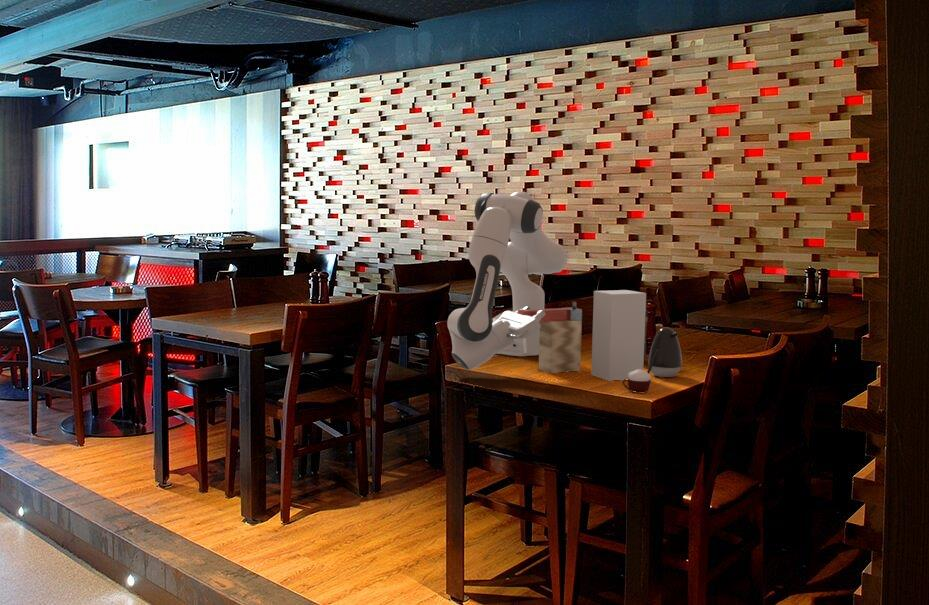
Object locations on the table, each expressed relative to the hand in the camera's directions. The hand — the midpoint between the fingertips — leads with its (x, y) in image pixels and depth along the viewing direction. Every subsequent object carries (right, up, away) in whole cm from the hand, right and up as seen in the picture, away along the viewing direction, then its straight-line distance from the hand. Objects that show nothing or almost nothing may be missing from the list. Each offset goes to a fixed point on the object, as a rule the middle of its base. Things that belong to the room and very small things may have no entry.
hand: (536, 310), depth 266 cm
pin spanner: (+4, -3, +2) cm, 6 cm away
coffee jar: (+34, -18, +24) cm, 46 cm away
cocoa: (+27, -23, -24) cm, 43 cm away
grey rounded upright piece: (+39, -20, -1) cm, 44 cm away
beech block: (+8, -19, +6) cm, 21 cm away
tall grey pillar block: (+24, -20, -3) cm, 32 cm away
